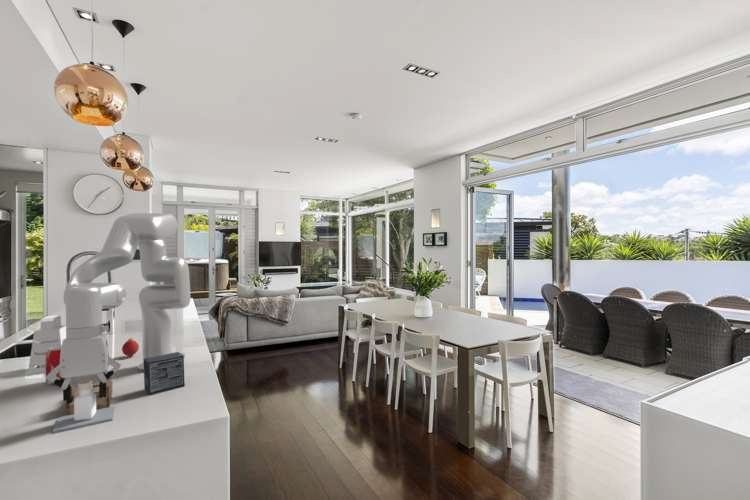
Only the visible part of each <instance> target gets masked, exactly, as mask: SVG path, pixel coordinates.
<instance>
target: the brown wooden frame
mask: <svg viewBox="0 0 750 500" xmlns="http://www.w3.org/2000/svg"><path fill="white" fill-rule="evenodd" d="M92 387H99V383H96V384H92ZM76 391H77V387H74V385H71V392H72V400H73V398H74V396H75V393H76ZM112 395H113V381H112V380H111V379H110V378H109V379H108V380H107V382H106V393H104V394H103V396H104V397H103V398H96V410H98V409H103V408H108V407H111V400H112ZM72 400H71V402H70V404H67V405H66V404H65V416H68V415H73V414H74V403H72Z"/></svg>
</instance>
